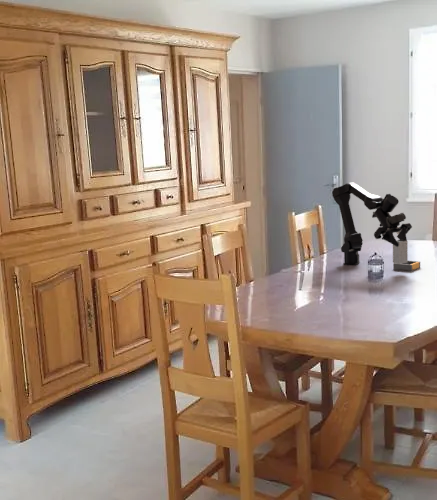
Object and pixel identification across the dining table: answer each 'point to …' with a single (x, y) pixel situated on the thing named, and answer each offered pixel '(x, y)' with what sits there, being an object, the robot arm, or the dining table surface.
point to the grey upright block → (400, 252)
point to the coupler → (407, 266)
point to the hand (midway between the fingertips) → (402, 245)
